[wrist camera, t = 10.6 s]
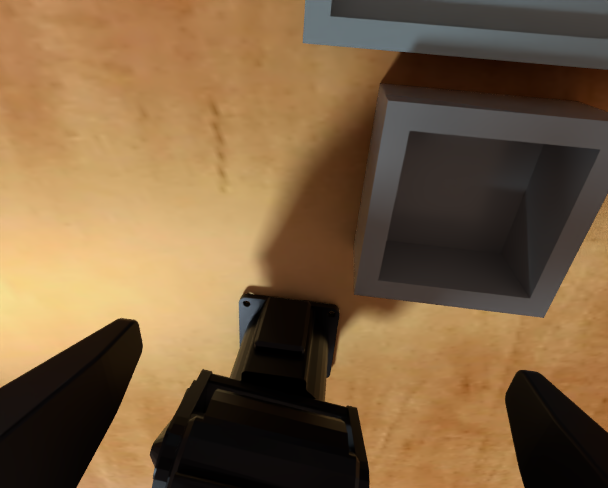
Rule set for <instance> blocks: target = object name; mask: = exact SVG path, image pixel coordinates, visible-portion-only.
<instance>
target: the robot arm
mask: <svg viewBox="0 0 608 488" xmlns="http://www.w3.org/2000/svg"><path fill="white" fill-rule="evenodd" d="M245 301H249V302H250V303H246V302H245ZM330 311H333V312H334V313H329V312H330ZM338 320H339V308H338V307H337V306H336V305H333V304H326V303H318V302H310V301H302V300H293V299H285V298H277V297H269V296H261V295H253V294H244V295H242V296H241V298H240V301H239V331H240V349H239V352H238V355H237V358H236V361H235V364H234V367H233V369H232V372H231V375H230V378H228V377H224V376H220V375H216V374H212V371H208V370H204V369H203V370H202V371H201V373H200V375H199V377H198V379H197V380H194V381H193V383H192V384H191V386H190V388H188V389H187V390H186V392H185V395H184V397H183V399H182V402H181V404H180V406H179V408H178V410H177V411H176V413H175V415H174V417H173V418H172V420H171V421H170V422H169V424H168V425H167V426H166V427H165V429H164V430H163V431H162V432H161V434H160V435H159V436H158V437H157V439H156V440H155V441H154V443H153V445H152V448H151V451H150V457H151V459H152V462H153V464H154V466H155V469H154V474H153V479H154V480H153V485H152V488H369V467H368V461H367V456H366V451H365V446H364V441H363V436H362V431H361V426H360V420H359V415H358V410H357V408H356V407H352V406H348V405H347V406H346V407H344V406H340V405H336V404H332V403H328V402H325V391H326V378H328V377H329V376H330V372H331V365H332V359H333V353H334V346H335V340H336V333H337V327H338ZM142 348H143V344H142V338H141V333H140V328H139V324H138V322H137V321H136V320H132V319H124V318H120V319H117V320H115V321H114V322H112V323H110V324H108V325H107V326H105V327H103V328H102V329H100V330H98V331H96V332H95V333H93V334H91V335H90V336H88V337H86V338H85V339H83V340H81V341H79V342H78V343H76V344H74V345H73V346H71V347H69V348H67V349H66V350H64V351H62V352H61V353H59V354H57V355H56V356H54V357H52V358H50V359H49V360H47V361H45V362H44V363H42V364H40V365H38V366H37V367H35V368H33V369H32V370H30V371H28V372H27V373H25V374H23V375H21V376H20V377H18V378H16V379H15V380H13V381H11V382H9V383H8V384H6V385H4V386H3V387H1V388H0V488H76V487H77V486H78V484H79V482H80V480H81V478H82V476H83V474H84V473H85V471H86V469H87V467H88V465H89V463H90V462H91V460H92V458H93V456H94V454H95V452H96V450H97V449H98V447H99V445H100V443H101V441H102V439H103V438H104V436H105V434H106V432H107V430H108V428H109V426H110V425H111V423H112V421H113V419H114V417H115V415H116V413H117V411H118V409H119V406H120V404H121V402H122V399H123V397H124V394H125V392H126V390H127V387H128V385H129V382H130V380H131V378H132V375H133V373H134V370H135V368H136V365H137V363H138V361H139V358H140V356H141V353H142ZM505 403H506V408H507V413H508V418H509V423H510V428H511V433H512V438H513V443H514V448H515V452H516V457H517V462H518V466H519V470H520V474H521V477H522V481H523V484H524V487H525V488H608V432H606V431H605V430H604V429H603V428H602V427H601V426H600V425H598V424H597V423H596V422H595V421H594V420H593V419H592V418H590V417H589V416H588V415H587V414H586V413H585V412H584V411H583V410H581V409H580V408H579V407H578V406H577V405H576V404H575V403H573V402H572V401H571V400H570V399H569V398H568V397H567V396H565V395H564V394H563V393H562V392H561V391H560V390H559V389H558V388H556V387H555V386H554V385H553V384H552V383H551V382H550V381H548V380H547V379H546V378H545V377H544V376H543V375H541V374H540V373H538V372H535V371H527V370H519V371H518V372H517V373H516V374H515V376H514V378H513V380H512V382H511V384H510V386H509V388H508V390H507V392H506V396H505Z"/></svg>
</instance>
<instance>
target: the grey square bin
mask: <svg viewBox="0 0 608 488" xmlns="http://www.w3.org/2000/svg"><path fill="white" fill-rule="evenodd" d="M607 194H608V112H606V111H603V110H601V109H598V108H595V107H592V106H589V105H587V104H584V103H581V102H578V101H567V100H557V99H546V98H535V97H524V96H513V95H502V94H491V93H481V92H470V91H459V90H448V89H437V88H426V87H416V86H405V85H394V84H383V83H380V86H379V92H378V98H377V104H376V110H375V117H374V123H373V129H372V135H371V141H370V148H369V154H368V160H367V166H366V172H365V179H364V185H363V191H362V197H361V203H360V210H359V216H358V222H357V228H356V234H355V241H354V247H353V254H354V295H362V296H370V297H378V298H386V299H394V300H403V301H411V302H419V303H427V304H435V305H444V306H452V307H460V308H468V309H477V310H485V311H493V312H501V313H509V314H518V315H526V316H534V317H542V318H544V316H545V314H546V312H547V311H548V309H549V307H550V305H551V303H552V301H553V299H554V297H555V295H556V293H557V291H558V289H559V287H560V285H561V283H562V281H563V279H564V277H565V276H566V274H567V272H568V270H569V268H570V266H571V264H572V262H573V260H574V258H575V256H576V254H577V252H578V250H579V248H580V246H581V244H582V242H583V240H584V239H585V237H586V235H587V233H588V231H589V229H590V227H591V225H592V223H593V221H594V219H595V217H596V215H597V213H598V211H599V209H600V207H601V205H602V204H603V202H604V200H605V198H606V196H607Z"/></svg>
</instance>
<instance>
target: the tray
mask: <svg viewBox="0 0 608 488" xmlns="http://www.w3.org/2000/svg"><path fill="white" fill-rule="evenodd" d="M303 43H308V44H320V45H331V46H342V47H354V48H365V49H377V50H388V51H399V52H411V53H422V54H434V55H445V56H457V57H468V58H479V59H491V60H502V61H514V62H525V63H536V64H548V65H559V66H571V67H582V68H594V69H605V70H608V0H306V1H305V17H304V33H303Z"/></svg>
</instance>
